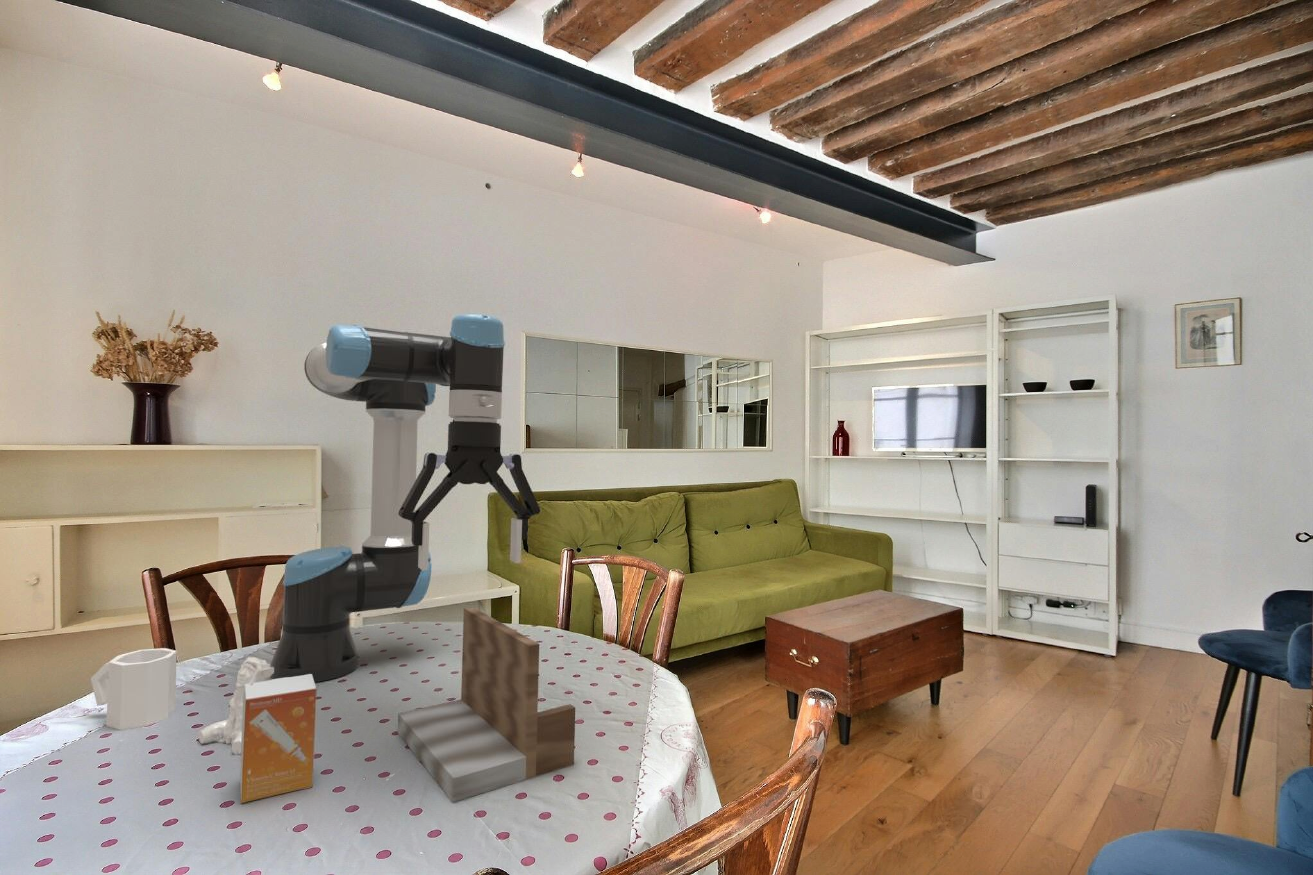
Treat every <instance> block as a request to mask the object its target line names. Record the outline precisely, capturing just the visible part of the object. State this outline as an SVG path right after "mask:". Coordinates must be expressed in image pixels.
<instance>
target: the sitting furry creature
mask: <svg viewBox="0 0 1313 875" xmlns="http://www.w3.org/2000/svg"><path fill="white" fill-rule="evenodd" d="M273 673H274V667H271V663H268V662H267V660H266V659H262V658H258V657H253V656H249V657H247V658H246V659H245V660H244V661H243V662H242V664H241V665H240V668H239V670H238V671H237V677H236V684H235V687H236V689H235V691H234V693H233V694H232V695H233V696H232V698H231V699H230V700H229V702H228V705H229V710H230V711H229V716H228V718H227V719H224V720H221V721H217V722H213V723H211V724H208V726H206V727H204V728H202V729H201V730H199V732H198V738H199V739H198V740H199V742H200V744H201V745H205V744H207V745H208V744H211V743H215V742H216V743H222V744H226V745H229V744H230V745H231V751H232V753H233V754H234V755H235V756H236V755H241V737H242V715H243V691H244V684H248V683H255V682H262V681H268V679H269V678H271V675H272V674H273Z"/></svg>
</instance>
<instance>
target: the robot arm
mask: <svg viewBox="0 0 1313 875" xmlns="http://www.w3.org/2000/svg"><path fill="white" fill-rule="evenodd" d="M504 333H505V332H504V324H503V322H502V320H501V319H499V318H498V317H494V316H492V315H486V314H481V313H480V314H477V313H462V314H457V315H456V316H454V317H453V318H452V320H451V328H450V332H449V336H443V335H434V334H425V333H416V332H407V331H406V332H405V331H404V332H403V331H395V330H389V329H380V328H374V327H367V326H365V327H364V326H361V325H355V324H352V325H346V324H345V325H344V324H335V325H333V326H331V327H330V329H329V330H328V334H327V338H326V342H323V343H321V344H319V345H317V346H315V347H314V348H313V349H311V350H310V351H309V353H308V354H307V355H306V357H305V361H304V364H303V365H304V369H303V370H304V373H305V377H306V379H307V381H308V382H309V384H310V385H312V387H314V389H316V390H318V391H319V392H321V393H323V394H325V395H327V396H330V397H332V398H337V399H339V400H345V401H350V402H351V401H352V402H363V403H364V402H365V412H366V413H367V414H368V415H369V416H370V417H371V418H372V419H373V428H372V429H373V430H372V431H373V435H372V463H371V464H372V470H371V471H372V472H371V473H372V475H371V502H370V503H371V506H370V507H371V510H370V511H371V512H370V535H369V536H368V537H367V538H366V539H365V540H364V541H363V542H362V545H361V546H362V547H361V552H360V553H358V552H357V553H353V550H352V548H351V547H349V546H345V545H344V546H329V547H322V548H317V549H310V550H308V551H303V552H301V553H297V554H295V555H293V556H291V557H290V558H289V559H288V560H287V562H286V563H285V566H284V573H283V574H284V575H283V580H282V585H283V603H282V604H283V606H282V608H283V609H282V629H281V636H280V638H279V641H278V644H277V647H276V649H275V651H274V654H273V657H272V659H271V662H270V667H274V673H273V674H272V675H271V677H270V679H271V680H272V679H278V678H285V677H295V676H302V675H307V674H312V676H313V679H314V682H315V683H319V682H324V681H328V680H332V679H333V680H334V679H336V678H341V677H343V676H345V675H348V674H350V673H352V672H353V671H355V670H356V668H357V667H358V665H359V664H358V661H359V659H358V658H359V654H358V651H357V647H356V644H355V642H354V638H353V635H352V632H351V630H350V614H351V613H353V614H354V613H359V612H367V611H376V610H384V609H394V608H396V609H400V608H403V607H409V606H414V605H415V606H416V605H418V604H419V603H420V602H422V600H424V598H425V596H426V594H427V592H428V589H429V586H430V581H431V575H432V563H431V561H432V557H431V554H430V551H429V543H430V523H429V522H427V521H425V520H426V519H427V518H428V517H429V516H430V514H431V513H432V512H433V510H435V508H436V507H437V506H438V505H439V504H440V503H441V502H442V500H444V498H445V497H447V495H448V494H449V493H450V491H452V490H453V488H454V487H456V486H457V485H458V483H460V484H461V485H472V484H478V485H486V484H490V485H491V486H492V487H493V489H494V490H495V491H496V492H497V493H498V495H499V496H500V497H501V499H502V500H503V501H504V502H505V504H506V505H507V506H508V507H509V508H510V509H511V511H512V512H513V513H514V514H515V516H516V517H512V518H510V546H509V547H510V550H509V551H510V552H509V553H510V554H509V555H510V557H509V561H511V562H512V563H515V564H521V563H522V541H524V540H527V538H528V525H529V524H528V522H529V521H528V520H530V519H531V517H532V516H535V515H539V514H540V512H541V508H540V506H539V504H538V502H537V499H536V497H535V495H534V493H533V490H532V488H531V486H530V484H529V481H528V479H527V476H526V475H525V473H524V470H523V464H522V463H523V462H522V456H521V455H520V454H518V453H517V454H516V453H510V454H509V455H502V454H501V446H502V445H501V443H502V441H501V440H502V438H501V437H502V425H501V424H500V423H498V420H500V419H501V418H502V404H503V402H502V401H503V400H502V399H503V398H502V397H503V369H504V350H505V348H504V347H505V344H506V342H505V340H504V335H505V334H504ZM437 385H439V386H440V387H441V386H442V387H449V397H448V398H449V400H448V402H449V403H448V417H449V418H451V419H452V421H450V422H449V423H448V425H447V426H448V427H447V428H448V430H447V450H446V453H445V455H441V454H436V453H434V452H427V453H425V454H424V456H423V464H422V468H421V471H420V472H419V474H418V476H417V461H418V460H417V458H418V457H417V454H418V424H419V423H418V422H419V420H420V419H421V418H422V417H423V416H424V415H425V414H426V407H428V406H431V405H432V404H433V403H434V402H435V398H436V392H437V391H436V390H437V389H436V388H437ZM442 464H444V465H445V467H446V468H447V469H448V470H449V472H448V473H447V474H446V476H444V477H443V478H442V481H441V482H440V483H439V484H438V486H436V488H435V489H434V490H433V491H432V492H431V493H430V494H429V495H428V497H427V498H426V499H425V500H424V501H423V502H422V503H421V505H420V506H419V507H418V508H417V509H416V507H417V505H418V503H419V501H420V499H421V497H422V495H423V494H424V492H425V491H426V488H427V486H428V485H429V483H430V481H431V479H432V477H433V476H434V473H435V471H436V470H438V469H440V467H441V465H442ZM503 465H505V468H506V469H508V471H509V474H510V475H511V477H512V479H513V482H514V484H515V486H516V488H517V490H518V492H519V495H520V498H521V499H522V501H523V504H524V506H525V507H524V506H523V504H522V503H521V502H520V500H519V499H518V498H517V496H516V495H515V494H514V493H513V491H512V490H511V489H510V487H508V485H507V484H506V483H505V481H504V479H503V478H502V477H501V475H500V474H499V472H498V471H499V469H500V468H501V467H502V466H503Z"/></svg>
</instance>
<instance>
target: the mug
mask: <svg viewBox="0 0 1313 875" xmlns="http://www.w3.org/2000/svg"><path fill="white" fill-rule="evenodd" d="M177 656H178V650H174V649H170V648H166V647H161V648H149V649H148V648H147V649H146V648H145V649H138V650H134V651H130V652H126V653H123V654H119V655H117V656H115V657H114V658H112V659H111V660H110V661H109V662H106V663H104V664H103V665H102V666H101V668H99V669H98V670H97V672H95V674H93V676H92V677H91V678H90V681H91V684H92V685H91V686H92V690H93V695H94V697H95V703H96V706H104V705H106V727H109V728H112V729H116V730H119V731H122V730H129V729H137V728H144V727H149V726H152V725H154V724H157V723H159V722H162V721H165V720H167V719H169V718H170V717H171V715H172V714H173V713H174V712H175V711H176V687H177V686H176V685H177V684H176V683H177V662H178V660H177V659H178V658H177Z"/></svg>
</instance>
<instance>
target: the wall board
mask: <svg viewBox="0 0 1313 875" xmlns="http://www.w3.org/2000/svg"><path fill="white" fill-rule="evenodd" d="M462 624H463V625H462V654H461V655H462V659H461V661H462V662H461V691H460V692H461V696H460V697H461V698H460V699H457V700H452V701H447V702H444V703H438V704H435V705H434V704H433V705H430V706H426V707H421V708H416V709H412V710H407V711H404V712H399V713H398V715H397V734H398V735H399V737H400V738H401V740H403V742H404V743H405V744H406V745H407V746H408V748H409V749H410V750H411V751H412V753H413V754H414V756H416V758H417V759H418V761H420V763H421V764H422V765H423V767H424V768H425V769H426V771H427V772H428V773H429V774H430V775H431V776H432V778H433V779H434V780H435V782H436V783H437V785H439V787H440V788H441V790H442V791H443V792H444V793H445V795H446V796H447V797H448V798H449V799H450V800H451V802H452V803H455V802H459V801H461V800H465V799H468V798H472V797H475V796H478V795H481V794H484V793H487V792H490V791H494V790H496V789H499V788H503V787H506V786H509V785H513V784H516V783H519V782H522V781H525V780H528V779H532V778H534V777H539V776H540V775H541V776H542V775H543V774H547V773H550V772H553V771H557V770H559V769H564V768H566V767H569V766H573V765H574V764H575V744H576V741H575V740H576V739H575V738H576V733H575V732H576V706H574V705H573V704H570V703H569V704H566V705H562V706H558V707H554V708H553V707H552V708H550V709H546V710H541V711H538V710H539V709H538V707H539V706H538V705H539V704H538V703H539V676H540V675H539V674H540V673H539V668H540V664H539V663H540V643H539V642H537V641H534V640H533V639H531V638H529V637H528V636H526V635H524V634H522V633H520V632H519V631H517V630H515V629H513V628H512V627H509V626H508V625H506V624H504V623H502V622H500V621H498V620H496V619H495V618H493V617H492V616H490V615H488V614H486V613H485V612H483V611H481V610H479V609H478V608H475V607H473V606H469V607H464V608H463V623H462Z"/></svg>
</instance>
